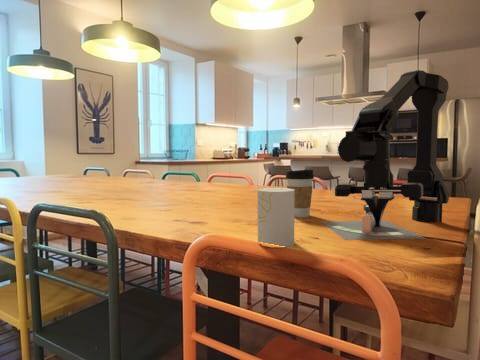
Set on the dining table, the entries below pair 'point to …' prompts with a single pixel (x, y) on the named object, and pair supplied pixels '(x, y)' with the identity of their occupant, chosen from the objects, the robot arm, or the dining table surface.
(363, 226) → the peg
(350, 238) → the dial board
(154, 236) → the dining table surface
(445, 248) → the dining table surface
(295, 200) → the coffee cup
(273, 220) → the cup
